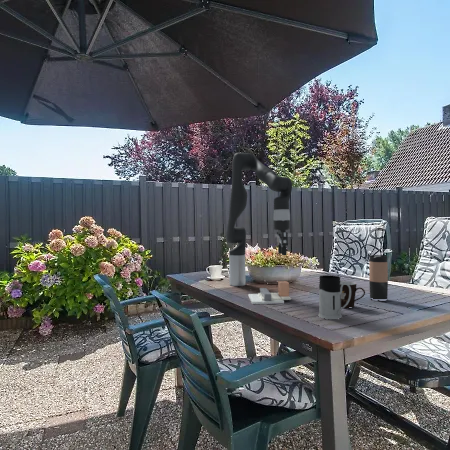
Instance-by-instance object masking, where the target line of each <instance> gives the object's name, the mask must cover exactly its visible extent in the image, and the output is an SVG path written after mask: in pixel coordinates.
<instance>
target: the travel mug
mask: <svg viewBox="0 0 450 450" xmlns="http://www.w3.org/2000/svg"><path fill="white" fill-rule="evenodd" d="M388 263H389V262H388V255H381V254H380V255H379V254H378V255H377V254H376V255H375V254H373V255H372V254H371V255H369V263H368V264H369V266H368V267H369V268H368V270H369V273H368V274H369V276H368V279H369V281H368V282H369V299H370V298H373V299H387V300H388V292H389V290H388V289H389V287H388V286H389V279H388V278H389V276H388V275H389V274H388V273H389V270H388V267H389V266H388Z"/></svg>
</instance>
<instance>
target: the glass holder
mask: <svg viewBox="0 0 450 450" xmlns="http://www.w3.org/2000/svg"><path fill="white" fill-rule="evenodd" d="M340 281H341V276H339V275H333V274H332V275H331V274H329V275H328V274H327V275H324V274H323V275H320V276H319V283H318V304H319V305H318V309H319V310H318V315H317V316H319V317H318V318H320V317H321V318H320V319H323V318H325V319H324V320H328V319H338V318H341V317H342V318H343V315H342V310H343V309H345V308H344V307H345V306H347V305H348V303H349V301H350V298H351V287H350V285H349V284H347V283H343V284H342V285H341V288H340ZM344 284H346V285H347V286H348V287H349V299H348V301H347V303H346V304H345V305H344V306H343V307H342V308H341V293H342V287H343V285H344ZM338 320H339V319H338Z"/></svg>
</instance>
